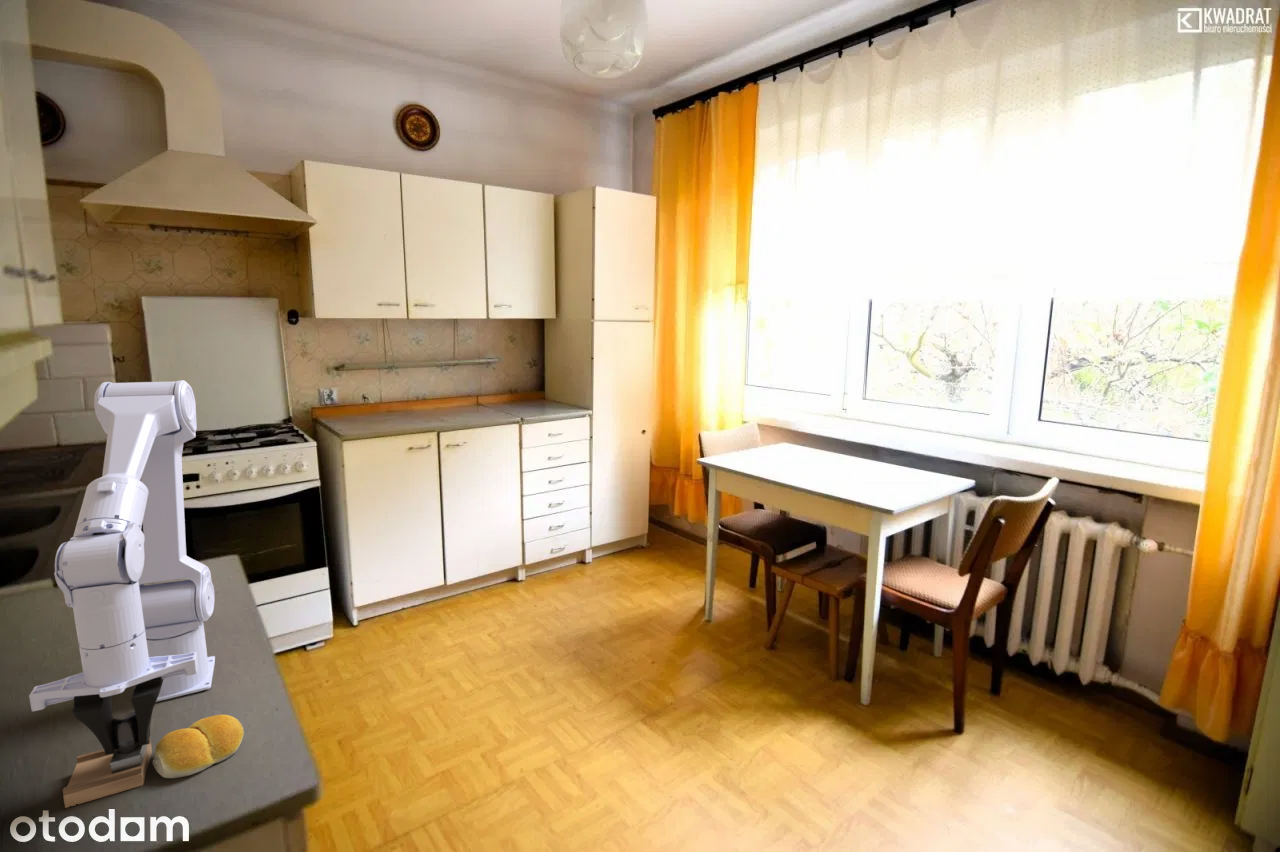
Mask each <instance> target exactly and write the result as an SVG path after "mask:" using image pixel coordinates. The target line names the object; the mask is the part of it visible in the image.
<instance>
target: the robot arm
mask: <svg viewBox="0 0 1280 852" xmlns="http://www.w3.org/2000/svg"><path fill="white" fill-rule="evenodd" d="M93 399H94V400H93V405H94V413H95V415H96V418H97V421H98V422H99V423H100V425H101V427H102V430H103V432H104V433H105V434H106V435H107V438H106V444H105V453H104V460H103V468H102V476H101V477H98V478H96V479H94V480H92V481H91V482H89V484H88V485H87V486H86V489H85V493H84V496H83V500H82V502H81V503H82V504H81V507H80V511H79V514H78V518H77V520H76V521H77V522H76V525H75V530H74V532H73V536H72V537H70V538H69V541H65V542H63V543H61V544H60V545H59V547H58V549H57V550H56V554H55V559H54V578H55V582H56V584H57V587H58V588H59V589H60V590H61V591H62V593H63V597H64V601H65V605H66V606H67V608H72V611H73V616H74V623H75V629H76V630H75V631H76V636H77V643H78V648H79V654H80V662H81V666H82V672H80V673H77V674H73V675H70V676H67V677H65V678H62V679H59V680H55V681H51V682H48V683H45V684H41V685H36V686H34V687H33V689H32V691H31V692H30V694H29V695H28V697H29V704H30V708H31V712H36V711H37V712H38V711H42V710H45V709H46V707H47V706H51V705H55V704H59V703H64V702H67V701H72V700H73V709H72V711H71V713H72V716H73V717H74V719H75V720H78V721H79V722H80V723H82V724H84V726H86V727H87V728H88V729H89V730H90V732H92V734H93V735H94V736H95V737H96V739H97V740H98V741H99V743H100V745H101V747H102V748H103V749H104V751H105V753H106V755H109V754H113V753H114V751H115V745H114V738H113V732H112V725H111V721H112V720H113V719H114V715H113V706H112V705H113V704H112V696H115V695H119V694H122V693H123V692H125V690H126V689H128V688H130V687H133V686H135V687H134V690H133V692H132V695H131V698H130V699H131V700H130V701H131V703H132V706H133V710H134V712H135V714H136V718H137V723H138V740H139V744H140V746H142V745H146V744H148V741H149V737H150V738H151V722H152V716H153V710H154V707H155V705H156V703H158V702H161V701H165V700H170V699H174V698H178V697H181V696H185V695H190V694H194V693H199V692H202V691H206V690H209V689H211V688H212V684H213V683H212V682H213V677H214V676H213V675H214V671H215V663H216V656H215V655H212V656H208V651H207V650H208V649H207V643H206V634H205V626H204V622H207V621H208V620H209V619H210V617H211V616H212V615H213V613H214V610H215V596H216V595H215V588H214V587H215V586H214V584H213V582H212V574H211V570H210V568H209V567H208V566H207V565H205V564H204V563H202V562H200V561H198V560H196V559H193V558H192V557H190V556H188V555H187V542H186V523H185V522H186V519H185V502H184V501H185V499H184V498H185V497H184V481H183V479H184V477H183V460H182V459H183V458H182V457H183V449H184V443H186V442H189V441H191V440H193V439H194V438H196V436H197V435H196V432H197V428H198V427H197V425H198V423H197V412H196V411H197V407H196V405H197V403H196V398H195V394H194V391H193V388H192V386H191V385H190V384H189V383H188V382H187V381H186V380H184V379H183V380H182V379H180V380H177V381H142V382H141V381H139V382H137V381H135V382H111V381H105V382H102V383H101V384H100V385H99V386H98V387H97V388H96V390H95V393H94V398H93ZM177 580H178V581H177ZM168 581H169V582H168ZM160 582H161V583H160ZM151 583H153V584H151Z"/></svg>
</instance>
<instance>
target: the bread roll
mask: <svg viewBox="0 0 1280 852" xmlns="http://www.w3.org/2000/svg"><path fill="white" fill-rule="evenodd" d="M244 730H245V729H244V727H243V725H242V723H241V722H240V721H239V720H238V718H236V717H234V716H232V715H228V714H216V715H211V716H207V717H204V718H201V719H199V720H197V721H195V722H193V723H192V724H191V725H189V727H187V728H180V729H176V730H175V729H174V730H173V731H170V732H168V733H166V734H165V735H163V737H162V738H161V739H160V740H159V741H158V742H157V743H156V745H155V748H154V755H153V759H152V765H153V767H154V769H155V771H156V772H157V773H158V774H159V776H161V777H162V778H165V779H176V778H184V777H188V776H193V775H194V774H197V773H200V772H202V771H204V770H205V769H208V768H210V767H211V766H213V765H214V764H219V763H221V762H222V761H224V760H226V759H228V758H231V756H233V755H234V754H235V753H236V752H237V751H238V749H239V748H240V745H241V743H242V741H243V740H244V739H243V738H244V734H245V733H244V732H245V731H244Z"/></svg>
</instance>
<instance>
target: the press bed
mask: <svg viewBox="0 0 1280 852" xmlns="http://www.w3.org/2000/svg"><path fill="white" fill-rule="evenodd" d="M152 753H153V749H152V742H151V736H150V737H149V741H148V744H147V748H146V752H145V755H144V759H143V762H142V766H139V767H135V768H132V769H128V770H124V771H121V772H117V773H114V774H112V772H111V765H110V762H111V759H112V757H113V754H114V753H113V754H109V755H106V753H105V751H104V749H99V750H95V751H91V752H87V753H84V754H79V755H77V757H76V765H75V767H74V770H73V773H71V777H70V779H69V782H68V784H67V786H65V787H64V786H63V789H62V793H63V802H64V808H65V809H67V808H70V806H71V807H73V806H77V805H76V804H78V805H81V804H83V803H88V802H91V801H93V800H97V799H101V798H104V797H108V796H112V795H114V794H118V793H122V792H124V791H127V790H132V789H134V788H139V787H141V786H144V784H145V779H146V775H147V772H148V768H149V765H150V760H151V757H152Z"/></svg>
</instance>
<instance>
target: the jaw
mask: <svg viewBox="0 0 1280 852" xmlns="http://www.w3.org/2000/svg"><path fill="white" fill-rule="evenodd" d="M111 725H112V732H113V738H114V745H115V751H114V754H113V757H112V759H111V762H110V765H111V772H112V774H114V773H117V772H121V771H124V770H128V769H132V768H135V767H139V766H142V762H143V759H144V755H145V752H146V748H147V744H146V745H142V746H140V744H139V740H138V723H137V718H136V714H135V711H128V712H124V713H121V714H120V715H119V714H118V715H117V716H115V717H113V720H112V721H111Z"/></svg>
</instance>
